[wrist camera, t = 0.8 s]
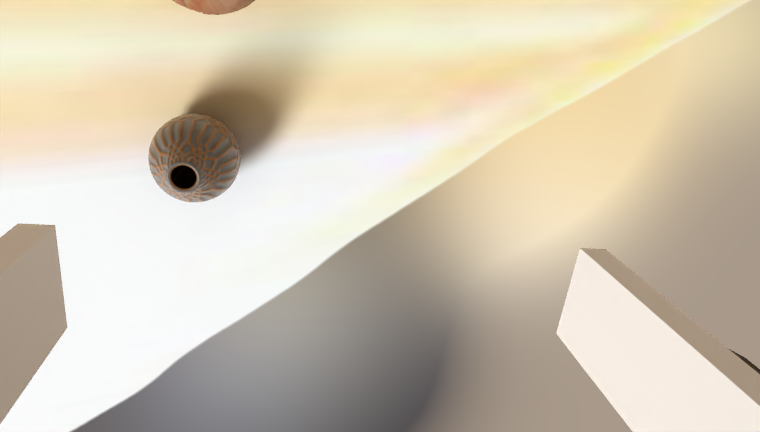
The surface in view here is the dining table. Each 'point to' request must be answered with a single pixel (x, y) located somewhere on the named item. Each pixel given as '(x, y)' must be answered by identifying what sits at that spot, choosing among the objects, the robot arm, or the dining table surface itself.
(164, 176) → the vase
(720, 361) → the robot arm
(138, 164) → the dining table surface
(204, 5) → the onion
